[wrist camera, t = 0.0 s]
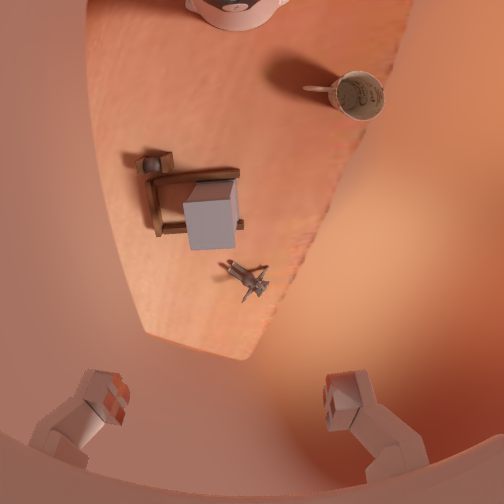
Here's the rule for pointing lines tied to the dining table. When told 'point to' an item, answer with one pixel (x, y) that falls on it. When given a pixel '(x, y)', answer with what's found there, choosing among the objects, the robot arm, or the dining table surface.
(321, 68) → the dining table surface
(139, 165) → the bay
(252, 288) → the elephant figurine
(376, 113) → the mug
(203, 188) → the gray rectangular block
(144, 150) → the dining table surface
